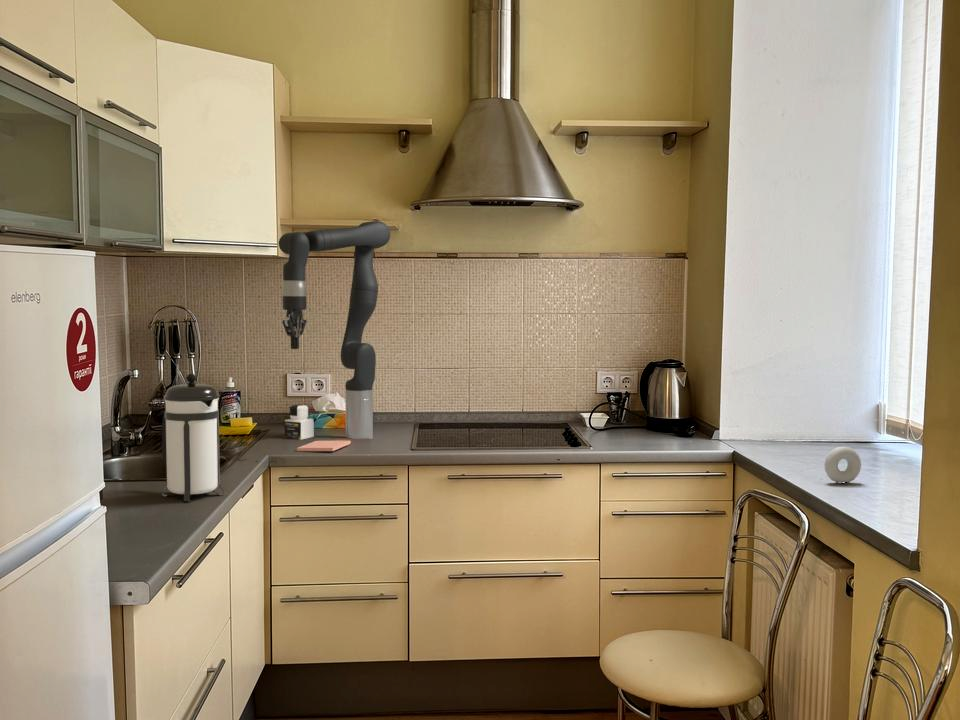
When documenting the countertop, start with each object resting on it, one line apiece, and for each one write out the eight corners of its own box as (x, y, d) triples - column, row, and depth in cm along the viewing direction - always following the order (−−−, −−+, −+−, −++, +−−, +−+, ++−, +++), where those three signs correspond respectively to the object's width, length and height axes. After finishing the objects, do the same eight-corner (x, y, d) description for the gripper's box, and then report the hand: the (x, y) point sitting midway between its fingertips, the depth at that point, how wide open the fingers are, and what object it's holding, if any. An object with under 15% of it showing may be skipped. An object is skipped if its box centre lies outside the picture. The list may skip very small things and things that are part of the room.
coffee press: (232, 487, 219) (231, 370, 217) (215, 502, 203) (213, 376, 201) (164, 488, 219) (161, 370, 216) (141, 502, 203) (138, 376, 201)
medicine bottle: (284, 440, 291) (283, 405, 291) (297, 437, 298) (297, 403, 297) (300, 442, 288) (300, 407, 287) (314, 439, 294) (314, 404, 294)
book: (316, 440, 279) (350, 440, 277) (316, 444, 279) (350, 443, 277) (296, 448, 266) (332, 447, 263) (297, 451, 266) (333, 451, 263)
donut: (855, 481, 232) (857, 445, 231) (863, 484, 229) (864, 447, 228) (821, 482, 231) (822, 445, 230) (828, 485, 227) (829, 447, 226)
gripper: (296, 295, 268) (296, 350, 269) (314, 295, 281) (314, 348, 282) (274, 294, 270) (274, 349, 271) (292, 295, 283) (293, 347, 284)
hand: (294, 348), depth 277 cm, fingers closed
